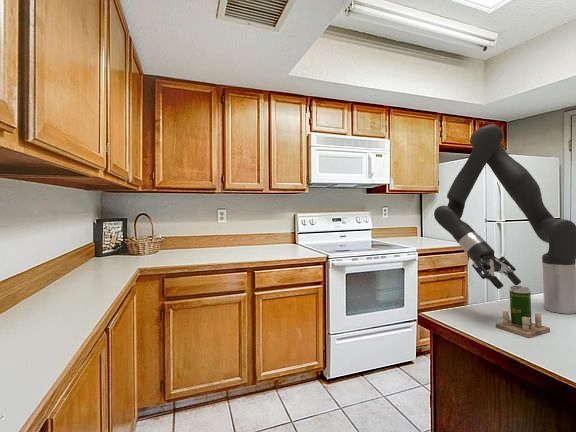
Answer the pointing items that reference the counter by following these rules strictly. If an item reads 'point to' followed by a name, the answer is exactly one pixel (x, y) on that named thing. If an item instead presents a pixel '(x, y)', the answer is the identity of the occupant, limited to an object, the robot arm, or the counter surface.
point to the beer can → (520, 305)
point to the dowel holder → (523, 326)
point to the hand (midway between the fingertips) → (510, 285)
